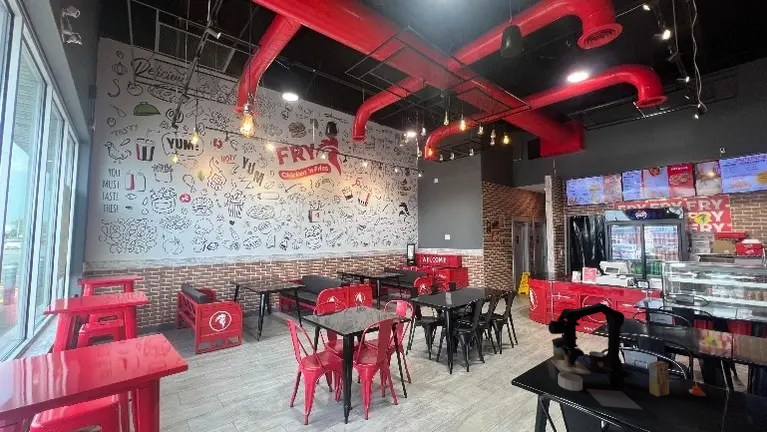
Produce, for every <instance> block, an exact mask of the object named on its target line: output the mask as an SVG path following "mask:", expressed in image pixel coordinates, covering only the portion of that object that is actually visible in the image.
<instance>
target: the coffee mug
mask: <svg viewBox="0 0 767 432" xmlns="http://www.w3.org/2000/svg"><path fill="white" fill-rule="evenodd" d="M606 354H607V353H603V352H600V351H596V350H595V351H593V350H591V351H589V352H588V355H584V356H582V357H583V358H582V360H583V361H584V362H585V363H586V364H587V365H589V366H590V368H591V372H593V373H596V374H601V375H602V374H605V371H606V368H605V367H604V365H603V363H602V361H603V355H606ZM587 357H588V359H589V361H590V362H589V363H588V362H587V360H585V358H587Z"/></svg>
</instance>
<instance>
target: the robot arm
mask: <svg viewBox="0 0 767 432" xmlns="http://www.w3.org/2000/svg"><path fill="white" fill-rule="evenodd" d="M599 313H602V314H603V315H604V316H605V321H606V324H607V325H608V335H607V336H608V337H607V353H605V354H606V355H603V361H602V363H603V365H604V367H605V371H607V372H608V375H607V384H608V385H609V386H611V387H612V388H616V389H617V388H618V389H627V387H626V385H625V378H627V377H628V372H627V371H626V370H625V369H624V368H623V361H622V360H621V357H620V336H621V335H620V334H621V328H622V326H623V325H624V322H625V314H624V313H623V312H621V311H618V310H616V309H614V308H612V307H610V306H608V305H607V304H604V303H602V302H597V303H595V304H591V305H587V306H584V307H583V306H582V307H578V308H574V307H573V308H564V309H562V311H561V314H560V315H559V316H558V317H557V319H556V320H550V322H549V324H548V326H547V327H548V331H549V333H550V334H551V335H561V337H556V338H553V339H552V340H551V342H552V346H553V345H554V346H555V347H556V348H559V347H561V348H562V349H563V350H564V352H565V354H569V358H570V364H571V365H574V363H575V361H577V359H578V358H579V357H584V356H585V354H584V353H585V352H584V351H583V350H582V349H581V348H579V347H578V344H577V340H578V339H579V338H578V336H577V327H578V326H579V327H580V326H581V323H579V322H578V321H579V320H581V319H582V318H584V317H588V316H591V315H596V314H599Z"/></svg>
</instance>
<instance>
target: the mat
mask: <svg viewBox="0 0 767 432" xmlns="http://www.w3.org/2000/svg"><path fill="white" fill-rule="evenodd" d="M585 390H586V391H587V392H588V393H589V394H590V395H591V396H592V397H593V398H594V399H595V400H596V401H597V402H598V403H599V404H600V405H601V406H602V407H608V408H609V407H610V408H611V407H612V408H621V409H622V408H623V409H634V410H635V409H636V410H643V408H642V407H641V406H639V405H638V404H637V403H636V402H635V401H634V400H633V399H632V398H630V397H629V396H628V395H626V394H625V393H624V392H623V391H620V390H606V389H593V388H592V389H591V388H585Z"/></svg>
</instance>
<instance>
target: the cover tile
mask: <svg viewBox="0 0 767 432" xmlns="http://www.w3.org/2000/svg"><path fill="white" fill-rule="evenodd" d="M564 357H565V360H554V359H551V363H552V364H553V365H554V366H555V367H556V368H557V369H558V370H559V371H560V373H562V372H566V373H572V374H584V375H585V374H586V375H591V373H592V371H590V370H589V369H588V368H587V367H586V366H585V365H584V364H582V363H581V362H580V361H579V360H576V361H575V363H574V365H571V364H570V358H569V354H564Z"/></svg>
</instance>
